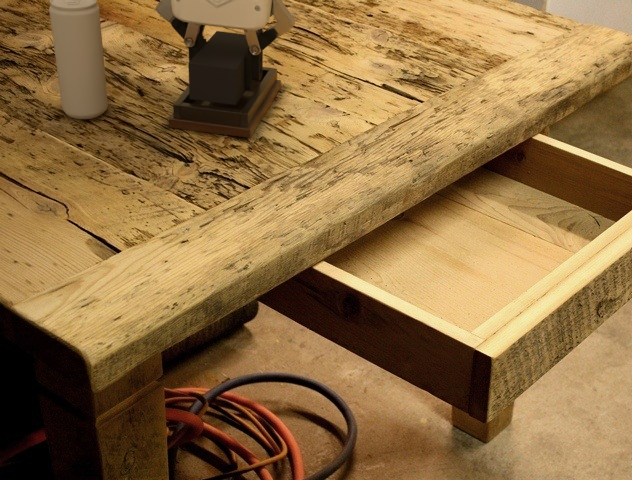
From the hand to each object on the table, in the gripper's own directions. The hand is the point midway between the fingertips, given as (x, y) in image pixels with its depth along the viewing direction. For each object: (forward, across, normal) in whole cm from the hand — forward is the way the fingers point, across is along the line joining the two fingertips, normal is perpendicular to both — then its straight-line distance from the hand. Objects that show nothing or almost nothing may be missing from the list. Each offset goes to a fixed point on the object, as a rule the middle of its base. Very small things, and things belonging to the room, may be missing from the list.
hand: (226, 80), depth 100 cm
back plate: (+3, 0, 0) cm, 3 cm away
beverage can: (+3, -14, -6) cm, 15 cm away
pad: (0, 0, 0) cm, 0 cm away
